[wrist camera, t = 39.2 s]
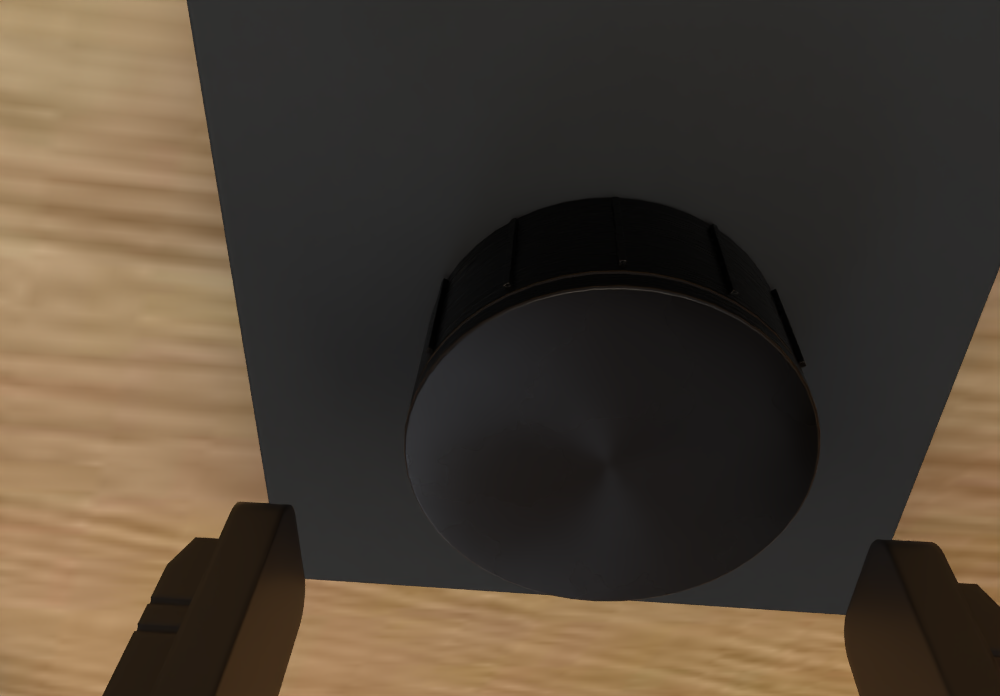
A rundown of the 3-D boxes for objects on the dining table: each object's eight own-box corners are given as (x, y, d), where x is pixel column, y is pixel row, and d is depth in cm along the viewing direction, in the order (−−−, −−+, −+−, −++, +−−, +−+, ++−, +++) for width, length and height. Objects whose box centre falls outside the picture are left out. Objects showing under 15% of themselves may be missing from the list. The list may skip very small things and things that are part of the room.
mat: (850, 582, 20) (863, 617, 19) (291, 545, 21) (280, 578, 20) (1074, -17, 13) (1108, -2, 12) (201, -55, 13) (177, -42, 13)
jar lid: (698, 517, 18) (719, 635, 16) (396, 444, 17) (369, 554, 15) (847, 254, 14) (903, 354, 12) (475, 150, 14) (456, 233, 11)
